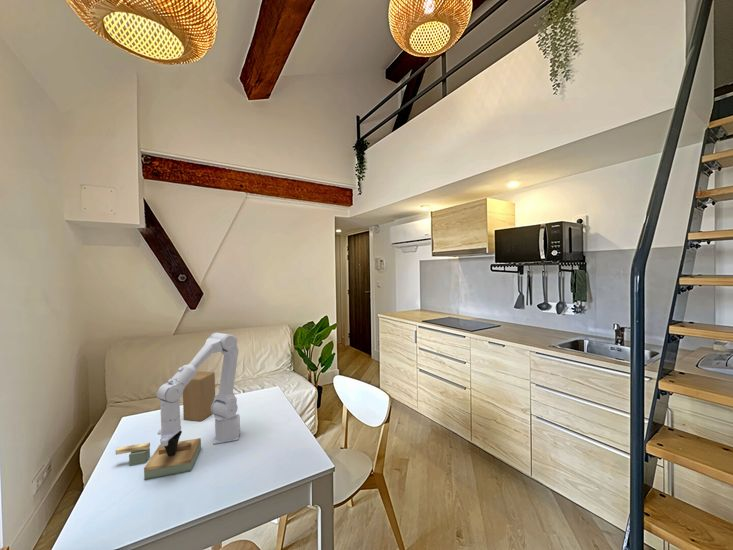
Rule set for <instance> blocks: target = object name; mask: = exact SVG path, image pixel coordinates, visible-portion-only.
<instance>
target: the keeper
mask: <svg viewBox="0 0 733 550" xmlns="http://www.w3.org/2000/svg"><path fill="white" fill-rule="evenodd" d="M150 458H151V446H150V447H149V449H147V450H141V451H135V452H129V455H128V461H129V462H128V464H129V467H130V466H137V465H143V464H147V463H148V461H149V460H150Z"/></svg>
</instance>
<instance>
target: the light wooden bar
mask: <svg viewBox="0 0 733 550" xmlns="http://www.w3.org/2000/svg"><path fill="white" fill-rule="evenodd" d="M149 447H150V448H151V442H144V443H138V444H131V445H126V446H120V447H117V448H116V450H115V455H122V454H128V453H129V454H130V453H131V452H135V451H141V450H147V449H149Z"/></svg>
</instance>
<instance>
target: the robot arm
mask: <svg viewBox="0 0 733 550" xmlns="http://www.w3.org/2000/svg"><path fill="white" fill-rule="evenodd" d="M238 347H239V346H238V338H237V337H236V336H235V335H234V334H231V333H223V332H222V333H221V332H217V331H216V332H213V333H212V334H211V335H210V336H209V337H208V338H206V341H205V344H204V345H203V346H202V347H201V349H200V350H199V351H198V352H197V353H196V355H195V356H194V357H193V358H192V359H191V361H190V362H189V363H188V364H184V365H183V364H182V366H179V367H178V369H177V370H178V371H176V373H174V375H173V376H172V377H171V378H170V379H168V381H167V382H166V383H163V384H162V385H161V386H160V387H159V388H158V389H157V392H156V393H155V395H156V398H158V400H159V403H160V405H159V407H160V428H161V429H160V430H158V431H157V435H160V440H159V441H160V444H159V445H160V446H161V447H163V446H164V447H165V449H166V452H167V455H168V457H169V456H174V455H175V454H176V451H177V445H178V442H180V438H181V435H182V432H183V431H182V425H181V424H182V423H181V422H182V421H181V405H180V404H181V403H180V401H181V400H180V399H181V398H182V397H183V390H184V389H185V387H186V385H187V384H188V383H189V382H190V381H191V380H192V379H193V377H194V376H195V375H196V372H197V371H198V370H197V369H199V367H200V366H202V364H204V363H205V361H207V359H209V358H210V356H211V355H212V354H214V353H219V352H220V353H221V354H222V355H223V360H222V366H221V367H222V368H221V373H220V380H219V381H220V382H219V387H218V388H219V390H218V393H217V394H215V397H214V401H213V403H212V406H211V412H212V413H213V414H212V415H213V417H214V427H215V428H214V430H215V431H214V432H215V435H214V439H213V442H212V444H213V445H217V444H223V443H228V442H234V441H238V440H239V438H240V433H241V420H240V419H241V418H240V417H241V416H240V414H239V413H238V414H237V412H238V409H239V408H238V403H237V401H238V400H237V397H236V396H235V394H234V388H235V387H234V386H235V380H236V371H237V364H238V356H239V348H238Z"/></svg>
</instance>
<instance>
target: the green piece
mask: <svg viewBox="0 0 733 550" xmlns="http://www.w3.org/2000/svg"><path fill="white" fill-rule="evenodd" d="M201 442H202V440H201V441H200V443H199V446H198V448H197V450H196V452H195V454H194V457H193V459H192V461H191V463H185V464H180V465H174V466H169V467H164V468H158V469H153V470H147V471H144V470H143V473H144V474H143V475H144V479H143V480H144V481H147V480H153V479H158V478H162V477H168V476H173V475H179V474H183V473H188V472H192V470H193V468H194V465H195V464H196V461H197V459H198V456H199V454H200V452H201V449H202V443H201Z"/></svg>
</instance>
